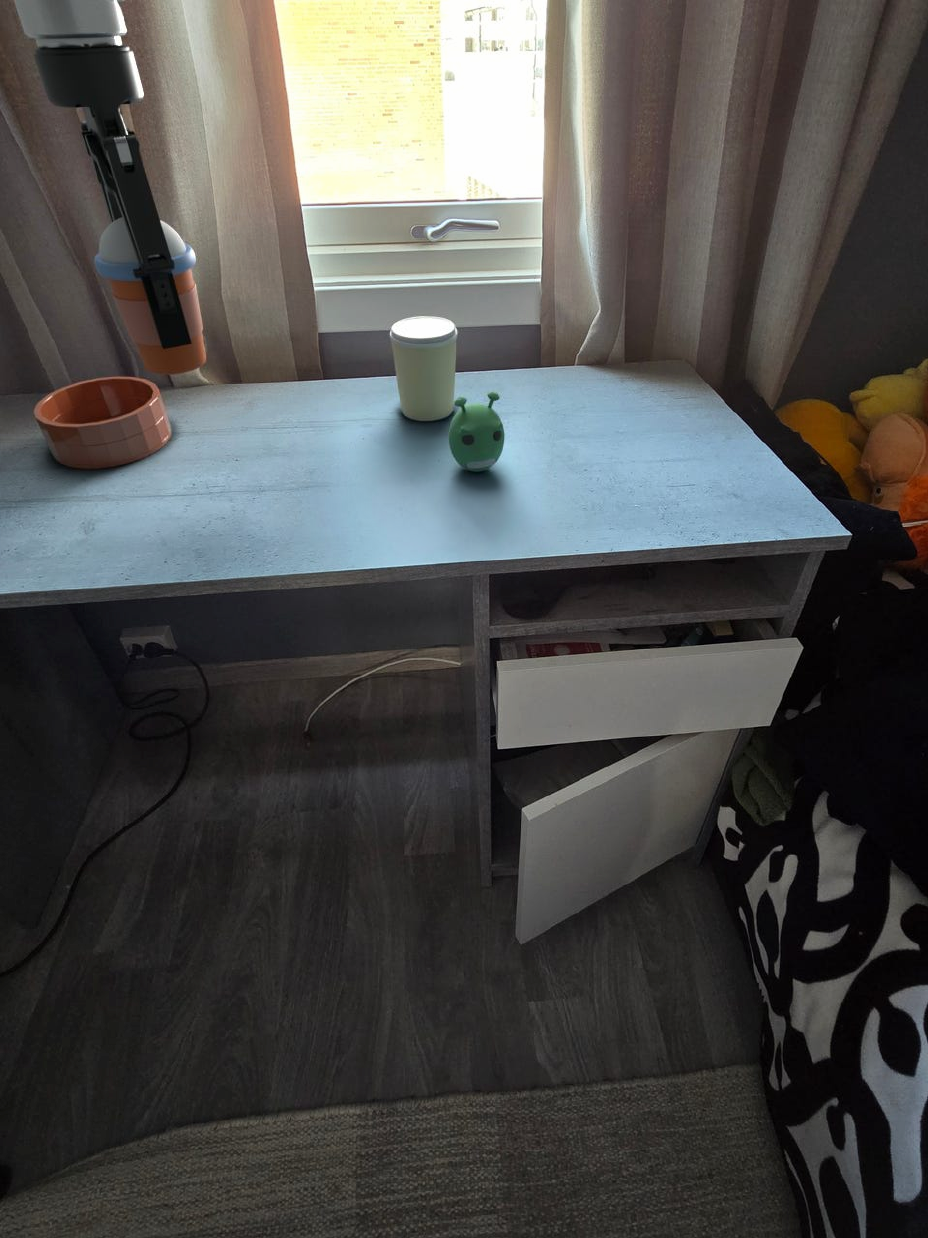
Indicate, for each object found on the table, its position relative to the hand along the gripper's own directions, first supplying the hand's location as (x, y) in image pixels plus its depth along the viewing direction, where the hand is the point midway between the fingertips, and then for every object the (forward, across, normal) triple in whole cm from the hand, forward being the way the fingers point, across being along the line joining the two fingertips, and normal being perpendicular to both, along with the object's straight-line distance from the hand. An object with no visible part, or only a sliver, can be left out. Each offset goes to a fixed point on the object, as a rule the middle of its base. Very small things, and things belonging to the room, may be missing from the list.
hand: (166, 329), depth 70 cm
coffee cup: (+21, +10, -34) cm, 41 cm away
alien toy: (+21, -9, -31) cm, 39 cm away
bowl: (+21, +24, +8) cm, 33 cm away
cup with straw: (+4, 0, 0) cm, 4 cm away
